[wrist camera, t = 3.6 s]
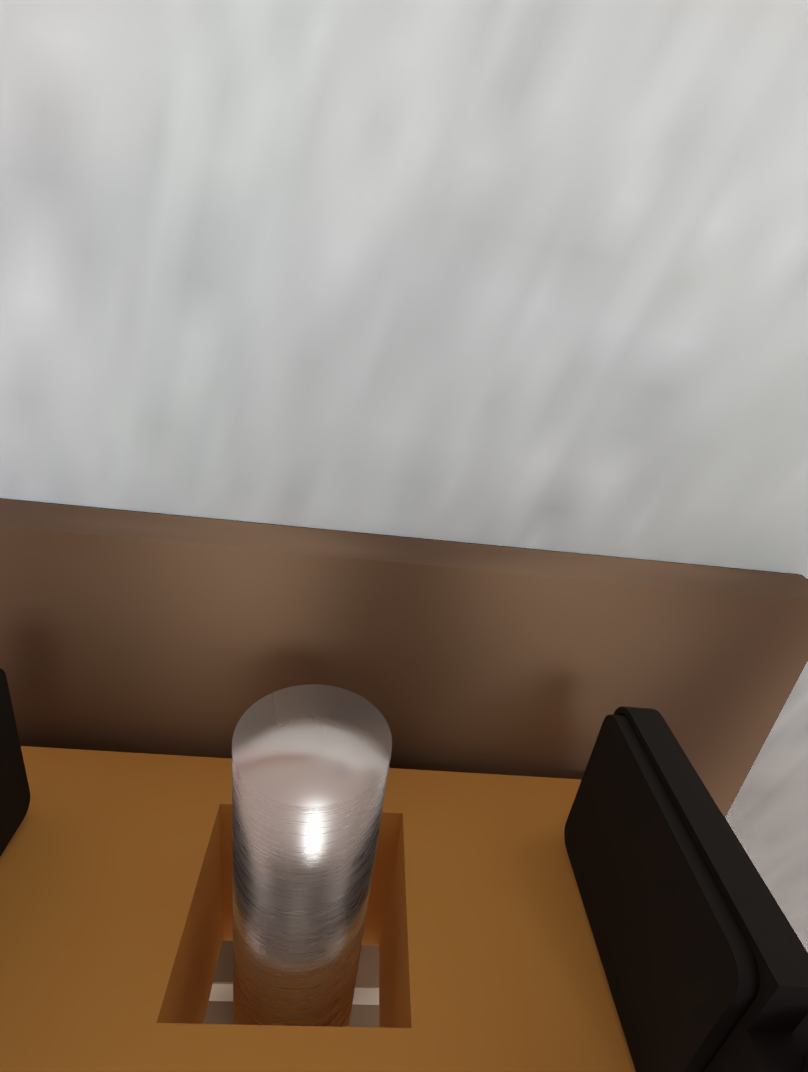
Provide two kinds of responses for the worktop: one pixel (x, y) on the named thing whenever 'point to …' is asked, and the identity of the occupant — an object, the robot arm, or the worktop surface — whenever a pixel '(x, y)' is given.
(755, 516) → the worktop surface
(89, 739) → the pipe board
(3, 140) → the worktop surface
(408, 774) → the collar
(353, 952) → the grey block with rod
